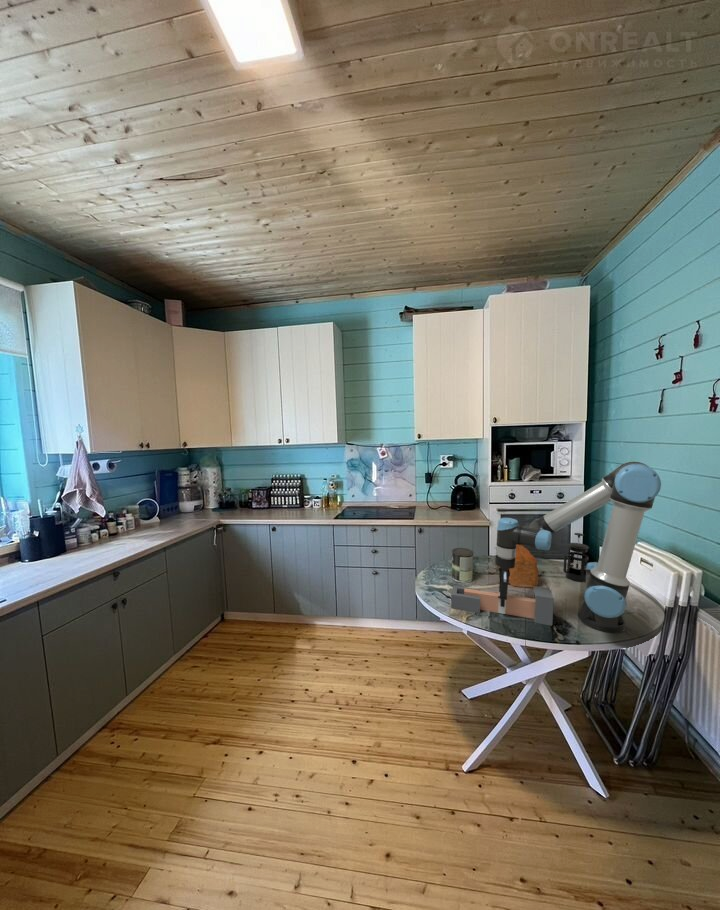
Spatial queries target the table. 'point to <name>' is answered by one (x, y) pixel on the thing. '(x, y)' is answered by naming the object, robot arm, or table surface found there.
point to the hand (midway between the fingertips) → (501, 610)
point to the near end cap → (543, 605)
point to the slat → (513, 603)
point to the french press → (575, 569)
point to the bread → (524, 569)
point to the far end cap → (464, 600)
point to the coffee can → (462, 565)
